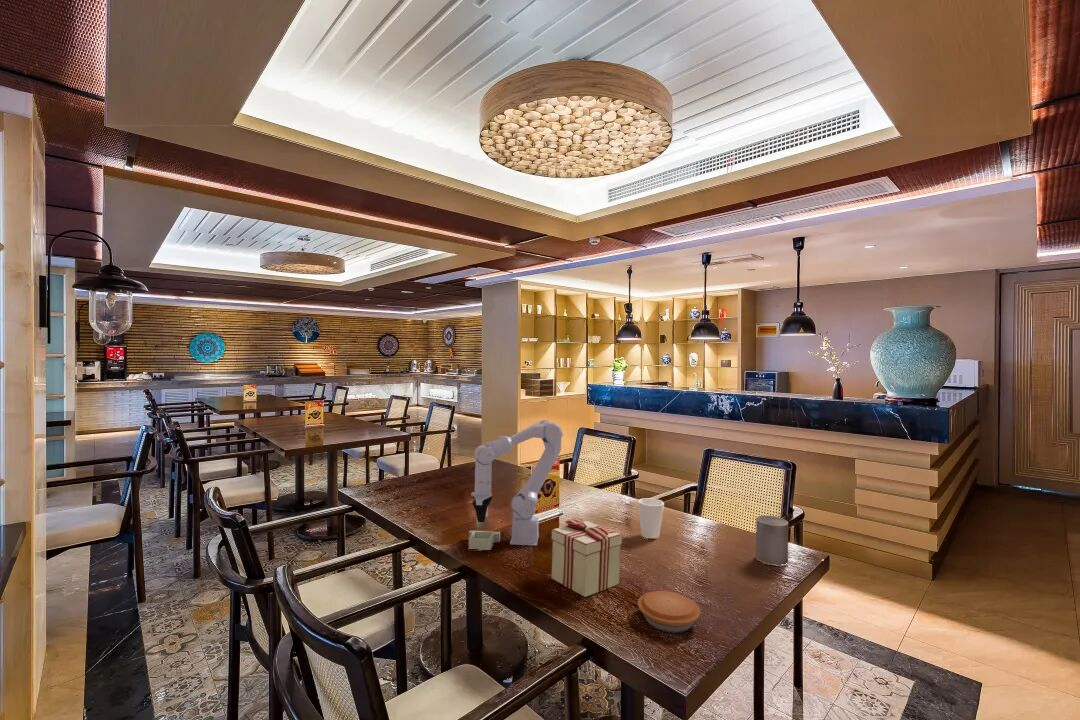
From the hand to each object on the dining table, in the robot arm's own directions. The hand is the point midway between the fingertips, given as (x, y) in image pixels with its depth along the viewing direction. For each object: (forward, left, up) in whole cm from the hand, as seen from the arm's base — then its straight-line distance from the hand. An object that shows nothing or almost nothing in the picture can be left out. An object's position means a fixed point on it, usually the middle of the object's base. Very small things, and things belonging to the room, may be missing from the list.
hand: (482, 519), depth 166 cm
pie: (-56, +41, -10) cm, 70 cm away
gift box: (-36, +21, -10) cm, 42 cm away
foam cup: (-61, -16, -9) cm, 63 cm away
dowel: (0, 0, -2) cm, 2 cm away
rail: (0, -5, -9) cm, 10 cm away
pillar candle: (-98, +1, -9) cm, 98 cm away
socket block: (0, 0, -10) cm, 10 cm away
